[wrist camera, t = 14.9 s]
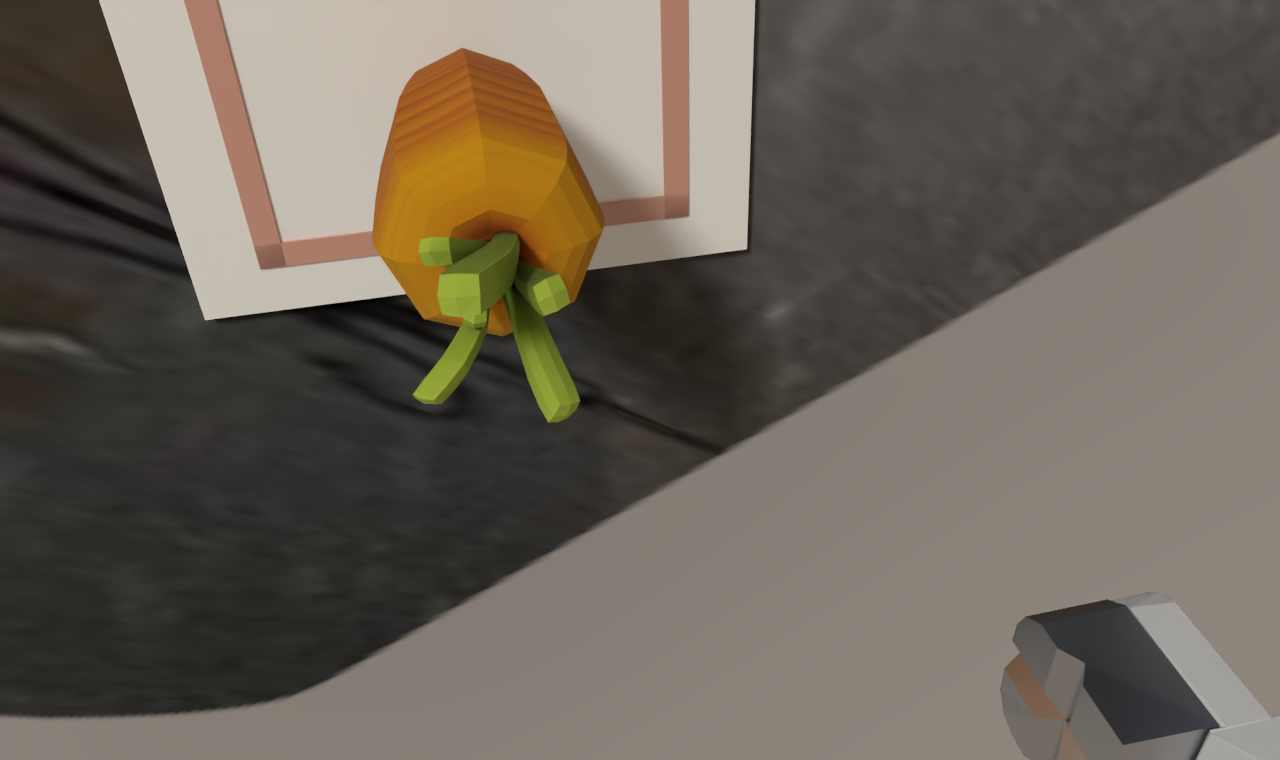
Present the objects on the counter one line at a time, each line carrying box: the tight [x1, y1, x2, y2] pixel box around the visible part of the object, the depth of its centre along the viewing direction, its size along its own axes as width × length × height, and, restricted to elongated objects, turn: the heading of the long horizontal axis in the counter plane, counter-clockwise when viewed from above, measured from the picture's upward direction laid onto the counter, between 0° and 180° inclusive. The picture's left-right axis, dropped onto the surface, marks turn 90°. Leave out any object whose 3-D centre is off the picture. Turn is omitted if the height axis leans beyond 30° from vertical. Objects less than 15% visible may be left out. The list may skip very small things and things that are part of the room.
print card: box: [99, 0, 755, 320], centre depth 30 cm, size 18×14×1 cm
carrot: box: [372, 48, 605, 422], centre depth 24 cm, size 5×5×15 cm
